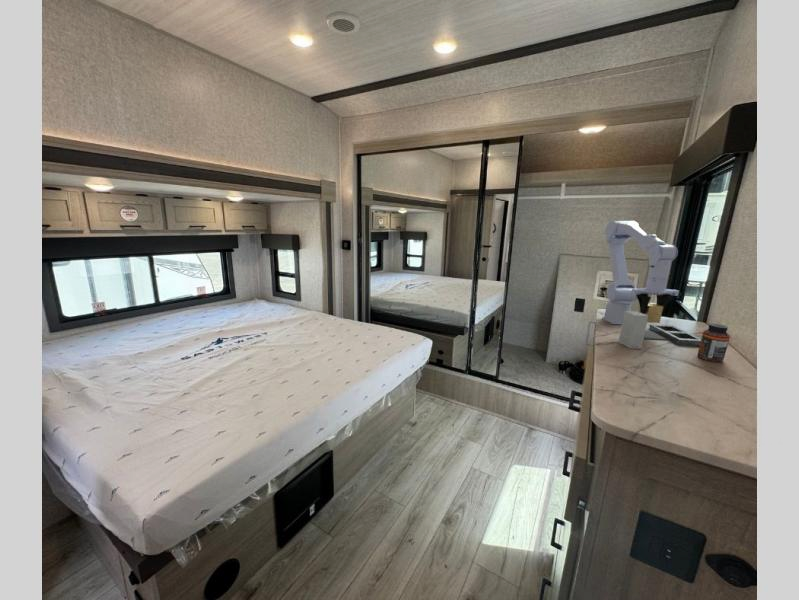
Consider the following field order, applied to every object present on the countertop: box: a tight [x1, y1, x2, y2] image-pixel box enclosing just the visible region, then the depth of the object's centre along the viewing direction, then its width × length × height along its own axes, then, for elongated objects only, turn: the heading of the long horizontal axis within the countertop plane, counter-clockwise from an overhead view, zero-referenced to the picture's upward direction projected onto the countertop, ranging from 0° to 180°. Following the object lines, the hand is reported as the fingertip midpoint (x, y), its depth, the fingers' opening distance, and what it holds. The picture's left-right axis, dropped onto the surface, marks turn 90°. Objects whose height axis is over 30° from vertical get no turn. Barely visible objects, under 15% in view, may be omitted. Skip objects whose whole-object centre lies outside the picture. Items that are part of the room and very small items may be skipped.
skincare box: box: [618, 310, 648, 350], centre depth 106 cm, size 6×4×12 cm
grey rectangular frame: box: [648, 323, 702, 347], centre depth 115 cm, size 17×8×2 cm, turn 170°
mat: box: [644, 330, 668, 341], centre depth 117 cm, size 9×9×1 cm
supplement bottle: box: [697, 323, 731, 363], centre depth 96 cm, size 6×6×11 cm
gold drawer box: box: [639, 302, 664, 324], centre depth 115 cm, size 4×4×7 cm
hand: (650, 313), depth 115 cm, fingers closed on gold drawer box, 4 cm apart
